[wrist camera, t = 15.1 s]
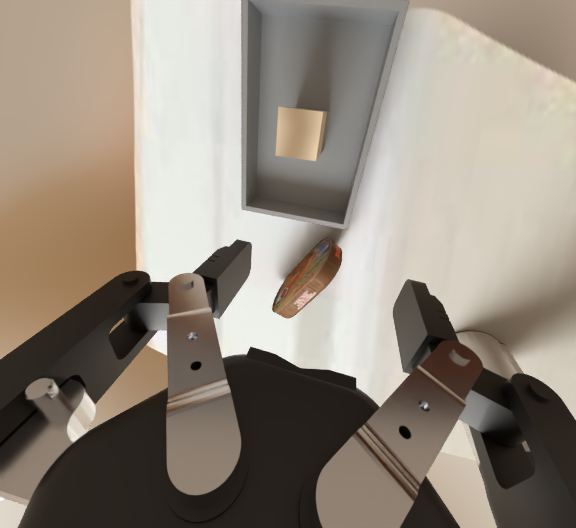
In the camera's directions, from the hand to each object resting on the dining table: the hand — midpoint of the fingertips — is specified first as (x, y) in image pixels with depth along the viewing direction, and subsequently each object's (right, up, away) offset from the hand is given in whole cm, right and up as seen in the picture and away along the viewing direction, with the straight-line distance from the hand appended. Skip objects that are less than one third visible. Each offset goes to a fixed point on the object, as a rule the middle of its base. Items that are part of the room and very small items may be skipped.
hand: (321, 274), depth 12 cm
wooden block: (+1, +17, +16) cm, 23 cm away
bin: (+1, +17, +17) cm, 24 cm away
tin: (+2, 0, +28) cm, 28 cm away
